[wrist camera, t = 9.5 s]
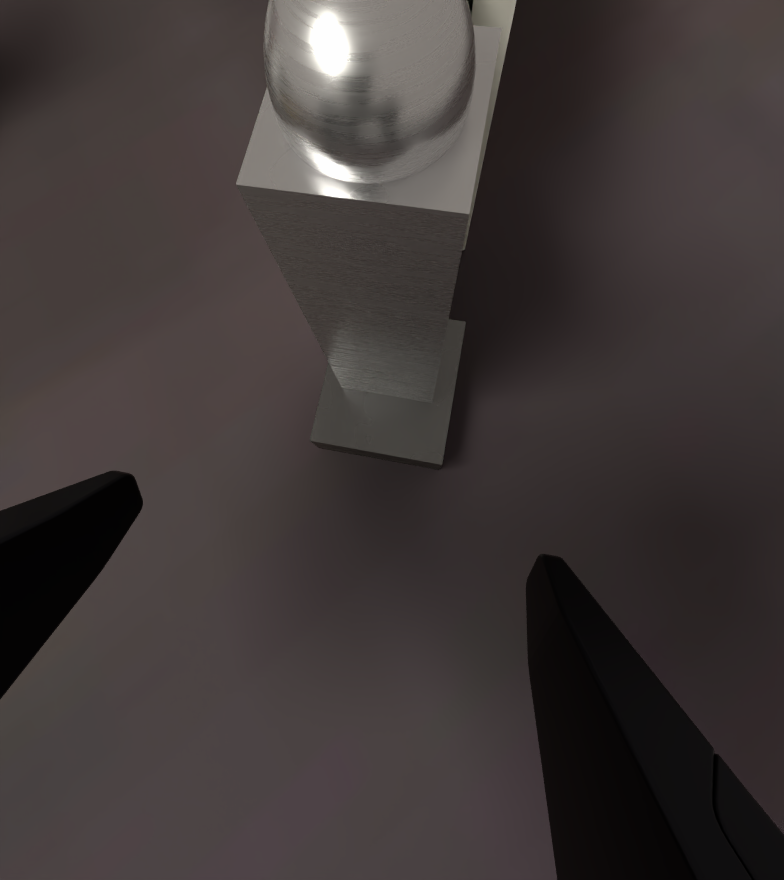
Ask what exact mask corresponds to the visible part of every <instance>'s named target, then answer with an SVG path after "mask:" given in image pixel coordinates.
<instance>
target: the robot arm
mask: <svg viewBox="0 0 784 880" xmlns="http://www.w3.org/2000/svg"><path fill="white" fill-rule="evenodd" d="M142 506H143V499H142V496H141V494H140V491H139V488H138V485H137V482H136V480H135V477H134V476H133V475H132V474H130V473H125V472H120V471H109V472H106V473H104V474H101V475H98V476H95V477H92V478H90V479H87V480H84V481H81V482H79V483H76V484H73V485H70V486H68V487H65V488H62V489H59V490H57V491H54V492H51V493H48V494H46V495H43V496H40V497H37V498H35V499H32V500H29V501H26V502H23V503H21V504H18V505H15V506H12V507H10V508H7V509H4V510H1V511H0V699H1V698H2V697H3V695H4V694H5V693H6V691H7V690H8V689H9V688H10V686H11V685H12V684H13V683H14V681H15V680H16V679H17V678H18V676H19V675H20V674H21V672H22V671H23V670H24V669H25V667H26V666H27V665H28V664H29V662H30V661H31V660H32V659H33V657H34V656H35V655H36V653H37V652H38V651H39V650H40V648H41V647H42V646H43V645H44V643H45V642H46V641H47V640H48V638H49V637H50V636H51V635H52V633H53V632H54V631H55V629H56V628H57V627H58V626H59V624H60V623H61V622H62V621H63V619H64V618H65V617H66V616H67V614H68V613H69V612H70V610H71V609H72V608H73V607H74V605H75V604H76V603H77V602H78V600H79V599H80V598H81V597H82V595H83V594H84V593H85V591H86V590H87V589H88V588H89V586H90V585H91V584H92V583H93V581H94V580H95V579H96V577H97V576H98V575H99V573H100V572H101V571H102V569H103V568H104V566H105V565H106V563H107V562H108V561H109V559H110V557H111V556H112V554H113V553H114V551H115V550H116V548H117V547H118V545H119V544H120V542H121V541H122V539H123V537H124V536H125V534H126V533H127V531H128V530H129V528H130V527H131V525H132V524H133V522H134V521H135V519H136V517H137V516H138V514H139V513H140V511H141V509H142ZM526 610H527V648H528V666H529V675H530V683H531V690H532V697H533V705H534V712H535V719H536V726H537V734H538V741H539V748H540V756H541V763H542V770H543V778H544V785H545V792H546V800H547V807H548V814H549V822H550V829H551V836H552V844H553V851H554V858H555V866H556V873H557V880H784V834H783V833H782V832H781V831H780V830H779V828H778V827H777V826H776V825H775V823H774V822H773V821H772V820H771V819H770V817H769V816H768V815H767V814H766V812H765V811H764V810H763V809H762V808H761V806H760V805H759V804H758V803H757V802H756V800H755V799H754V798H753V797H752V795H751V794H750V793H749V792H748V791H747V789H746V788H745V787H744V786H743V784H742V783H741V782H740V781H739V779H738V778H737V777H736V776H735V774H734V773H733V772H732V771H731V769H730V768H729V767H728V766H727V764H726V763H725V762H724V761H723V759H722V758H721V757H720V756H719V755H718V754H714V749H713V747H712V746H711V745H710V743H709V742H708V741H707V739H706V738H705V737H704V736H703V734H702V733H701V732H700V731H699V729H698V728H697V727H696V726H695V724H694V723H693V722H692V721H691V719H690V718H689V717H688V716H687V714H686V713H685V712H684V711H683V709H682V708H681V707H680V706H679V704H678V703H677V702H676V701H675V699H674V698H673V697H672V696H671V694H670V693H669V692H668V690H667V689H666V688H665V687H664V685H663V684H662V683H661V682H660V680H659V679H658V678H657V677H656V675H655V674H654V673H653V672H652V670H651V669H650V668H649V667H648V665H647V664H646V663H645V662H644V660H643V659H642V658H641V657H640V655H639V654H638V653H637V652H636V650H635V649H634V648H633V647H632V645H631V644H630V643H629V641H628V640H627V639H626V638H625V636H624V635H623V634H622V633H621V631H620V630H619V629H618V628H617V626H616V625H615V624H614V623H613V621H612V620H611V619H610V618H609V616H608V615H607V614H606V613H605V611H604V610H603V609H602V608H601V606H600V605H599V604H598V603H597V601H596V600H595V599H594V597H593V596H592V595H591V594H590V592H589V591H588V590H587V589H586V587H585V586H584V585H583V584H582V582H581V581H580V580H579V579H578V577H577V576H576V575H575V574H574V572H573V571H572V570H571V569H570V567H569V566H568V565H567V564H566V562H565V561H564V560H563V559H562V558H560V557H558V556H553V555H547V554H540V555H539V556H538V558H537V559H536V562H535V564H534V566H533V568H532V570H531V572H530V574H529V576H528V579H527V583H526Z"/></svg>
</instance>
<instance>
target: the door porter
mask: <svg viewBox="0 0 784 880" xmlns="http://www.w3.org/2000/svg"><path fill="white" fill-rule="evenodd" d="M501 31H502V28H499V27H487V26H475V25H473V21H472V17H471V12H470V8H469V5H468V1H467V0H269V4H268V8H267V13H266V20H265V32H264V65H265V75H266V81H267V89H266V92H265V95H264V98H263V102H262V105H261V108H260V111H259V114H258V117H257V120H256V123H255V127H254V130H253V133H252V136H251V139H250V142H249V145H248V148H247V152H246V155H245V158H244V161H243V164H242V167H241V170H240V173H239V177H238V180H237V183H236V185H237V187H238V189H239V191H240V193H241V195H242V197H243V199H244V201H245V203H246V205H247V207H248V208H249V210H250V212H251V214H252V216H253V218H254V220H255V222H256V224H257V226H258V228H259V230H260V232H261V233H262V235H263V237H264V239H265V241H266V243H267V245H268V247H269V249H270V251H271V253H272V255H273V256H274V258H275V260H276V262H277V264H278V266H279V268H280V270H281V272H282V274H283V276H284V278H285V279H286V281H287V283H288V285H289V287H290V289H291V291H292V293H293V295H294V297H295V299H296V301H297V302H298V304H299V306H300V308H301V310H302V312H303V314H304V316H305V318H306V320H307V322H308V324H309V326H310V327H311V329H312V331H313V333H314V335H315V337H316V339H317V341H318V343H319V345H320V347H321V349H322V350H323V352H324V354H325V356H326V358H327V360H328V365H327V370H326V374H325V378H324V382H323V386H322V390H321V395H320V399H319V403H318V407H317V411H316V416H315V420H314V424H313V428H312V432H311V437H310V441H311V442H312V443H313V444H315V445H316V446H317V447H319V448H322V449H328V450H333V451H339V452H344V453H350V454H355V455H360V456H366V457H371V458H377V459H382V460H388V461H393V462H399V463H404V464H409V465H415V466H420V467H426V468H431V469H437V470H439V469H440V467H441V466H442V462H443V456H444V450H445V445H446V439H447V433H448V427H449V421H450V415H451V409H452V403H453V397H454V391H455V385H456V379H457V373H458V367H459V361H460V355H461V349H462V343H463V337H464V331H465V325H466V322H464V321H458V320H451V319H449V315H450V310H451V304H452V299H453V294H454V289H455V284H456V279H457V274H458V269H459V264H460V259H461V254H462V249H463V244H464V239H465V233H466V228H467V223H468V218H469V213H470V207H471V202H472V196H473V190H474V185H475V179H476V173H477V168H478V162H479V156H480V151H481V145H482V139H483V134H484V128H485V122H486V116H487V111H488V105H489V99H490V94H491V88H492V82H493V77H494V71H495V65H496V60H497V54H498V48H499V43H500V37H501Z"/></svg>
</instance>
